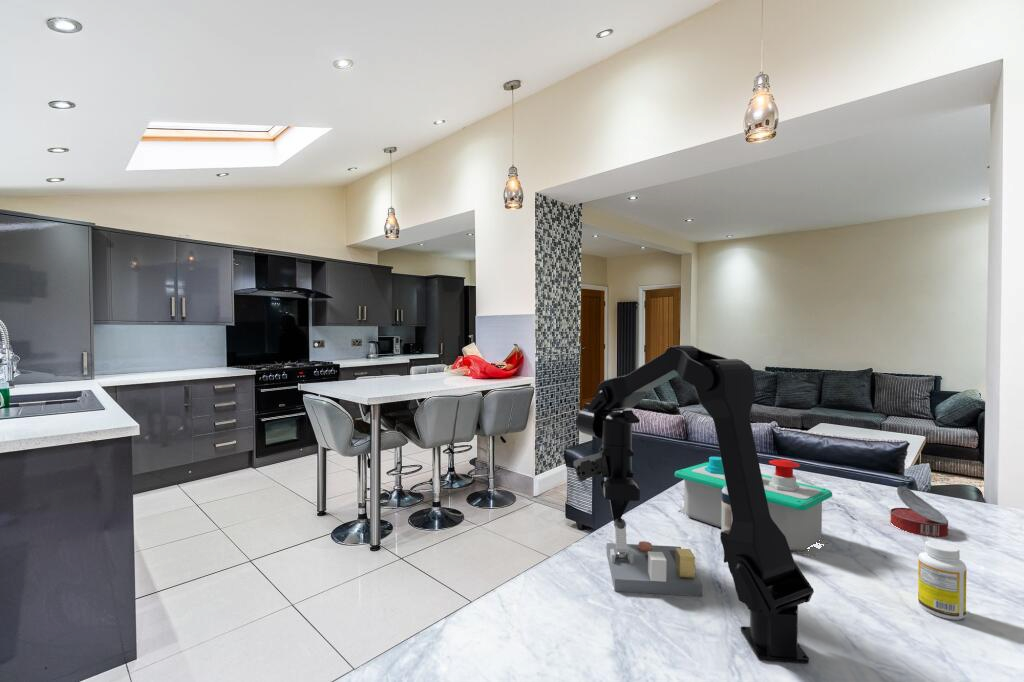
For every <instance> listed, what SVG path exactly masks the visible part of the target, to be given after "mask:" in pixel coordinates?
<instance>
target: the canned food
mask: <svg viewBox="0 0 1024 682" xmlns="http://www.w3.org/2000/svg"><path fill="white" fill-rule="evenodd" d="M896 492H897V495H898V497H899V499H900V500H901V502H902V503H903V504H904V505H905V506H906V507H894V508H891V509H890V524H891V523H892V524H893V525H894V526H896V527H898V528H900V529H902V530H904V531H903V532H905V531H907V532H906V533H909V534H912V533H913V534H914V535H916V536H921V537H927V536H928V537H929V538H945V537H947V536H949V519H947V517H946V515H944V514H942V513H941V512H940V510H938V509H937V508H935V507H933V505H931V504H929V503H928V502H927V501H925V500H924V499H923V498H921V497H920V496H919V495H917V494H915V493H914V491H912V490H911V489H910V488H908V487H907V486H902V485H899V486H898V487H897V488H896ZM894 526H893V527H894ZM896 527H895V528H896ZM898 528H897V529H898ZM900 529H899V530H900ZM902 530H901V531H902Z"/></svg>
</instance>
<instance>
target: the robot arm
mask: <svg viewBox="0 0 1024 682" xmlns="http://www.w3.org/2000/svg"><path fill="white" fill-rule="evenodd" d="M677 376H679V377H680V378H681V380H683V381H684V382H686V383H688V384H690V385H691V386H693V387H694V388H695V391H696V394H697V397H698V401H699V403H700V405H701V406H702V407H703V409H705V411H706V412H707V414H709V416H710V417H711V418H712V420H713V424H714V429H715V434H716V438H717V443H718V448H719V454H720V457H721V460H722V465H723V471H724V476H725V481H726V486H727V491H728V496H729V501H730V506H731V512H732V518H733V520H732V524H731V527H730V530H727V531H723V532H720V538H719V539H720V543H721V542H722V543H721V545H722V549H723V562H724V563H727V566H728V569H729V572H730V574H731V576H732V579H733V584H734V587H735V592H736V594H737V598H738V601H739V602H741V603H742V604H745V605H746V607H747V609H748V610H749V613H750V614H749V626H741V627H740V632H741V635H742V636H743V637H744V638H745V640H746V642H747V644H748V645H749V647H750V648H751V650H752V652H753V653H754V655H755V657H756V658H757V659H759V660H762V661H763V660H765V661H777V662H779V661H780V662H791V663H792V662H793V663H806V664H808V663H809V662H810V657H809V656H808V655H807V653H806V651H805V650H803V648H802V646H801V645H800V644H799V643H798V635H799V634H798V633H799V632H798V629H799V628H798V627H799V625H798V624H799V623H798V622H799V607H798V606H799V605H802V604H804V603H809V602H810V601H811V598H812V596H813V594H814V591H815V590H814V588H813V587H812V586H811V585H812V584H810V583H809V581H808V579H807V578H806V577H805V575H804V573H803V572H802V571H801V569H800V568H799V566H798V564H797V563H796V562H795V559H794V556H793V554H792V550H790V548H789V545H788V542H787V540H786V537H785V535H784V534H783V533H782V531H781V530H780V529H779V528H778V526H777V525H776V524H775V522H774V521H773V520H772V518H771V516H770V513H769V508H768V503H767V499H766V494H765V489H764V484H763V480H762V475H761V474H762V471H761V466H760V462H759V461H760V460H759V456H758V452H757V447H756V443H755V438H754V437H755V436H754V433H753V428H752V424H751V423H752V422H751V420H750V419H751V418H750V413H751V411H752V408H753V405H754V404H753V403H754V401H755V397H756V390H755V388H756V387H755V376H754V371H753V369H752V367H751V366H750V364H748V363H746V362H745V361H743V360H741V359H738V358H729V359H728V358H727V357H724V356H721V355H718V354H713V353H710V352H707V351H704V350H702V349H699V348H697V347H695V346H693V345H672V346H670V347H668V348H667V349H666V350H665V351H664V352H662V353H661V354H660V355H658V356H656V357H654V358H653V359H651V360H649V361H647V362H646V363H645V364H643V365H642V366H639V367H638V368H636V369H635V370H633V371H632V372H630V373H628V374H625V375H622V376H616V377H612V378H608V379H604V380H603V381H601V382H600V383H599V384H598V386H597V387H598V388H597V390H596V392H595V394H594V396H593V398H592V400H591V402H585V403H583V408H582V409H581V410H580V411H579V413H578V414H577V415H576V419H575V425H576V428H577V430H578V431H579V432H580V433H582V434H585V435H588V436H590V437H595V438H597V439H602V441H601V442H602V444H601V445H600V447H599V452H598V453H594V454H590V455H587V456H586V455H585V456H584V457H581V458H578V459H576V460H574V461H573V468H574V470H575V473H576V476H577V478H578V479H577V480H578V481H579V482H583V481H586V480H587V479H589V478H593V477H596V476H601V478H604V479H603V480H600V481H599V483H600V486H601V491H602V493H603V496H604V499H605V500H608V501H609V504H610V510H611V511H610V512H611V515H612V520H613V523H614V522H615V520H616V519H618V518H621V519H622V517H623V515H624V513H625V511H626V508H627V506H628V505H629V503H630V501H631V502H639V501H640V498H641V496H640V495H641V490H640V488H639V486H638V484H637V483H636V482H635V481H634V480H633V479H634V472H633V470H632V468H633V467H632V460H633V459H632V458H633V457H634V450H633V449H632V447H633V446H632V445H633V444H632V442H633V440H632V439H633V437H632V435H633V434H632V433H633V424H640V421H641V420H640V419H639V417H638V416H637V415H636V414H635V413H634V412H633V410H632V408H634V407H635V406H637V405H638V404H639V403H640V402H641V401H642V400H644V399H643V398H644V396H645V394H646V393H648V392H649V391H651V390H653V389H655V388H656V387H659V386H660V385H662V384H664V383H666V382H668V381H670V380H672V379H673V378H675V377H677ZM626 409H627V410H626ZM628 409H629V410H628Z"/></svg>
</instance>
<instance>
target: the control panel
mask: <svg viewBox="0 0 1024 682" xmlns="http://www.w3.org/2000/svg"><path fill="white" fill-rule="evenodd" d="M768 463H769V464H771V465H774V466H775V468H774V469H775V470H774V471H775V472H773V473H772V475H771V476H770V475H767V474H762V473H761V475H762V480H763V484H764V489H765V494H766V499H767V503H768V508H769V513H770V516H771V518H772V520H773V521H774V522H775V524H776V525H777V526H778V528H779V529H780V530H781V531H782V533H783V534H784V535H785V537H786V540H787V542H788V545H789V548H790V551H791V552H796V553H798V552H799V554H801V553H802V555H804V554H806V555H805V556H807V555H809V556H808V557H813V556H814V557H815V556H817V555H818V554H820V553H821V552H823V551H824V550H826V549H827V548H828V546H829V547H830V546H831V545H832V543H830V541H829V542H828V541H825V540H822V535H823V534H822V533H823V532H822V531H823V525H822V524H823V519H822V518H823V502H824V501H826V500H828V499H830V498H832V497H833V491H832V490H830V489H829V488H828V489H827V488H824V487H819V486H814V485H812V484H806V483H802V482H798V481H797V477H796V476H795V475H794V468H799V467H801V464H799V463H797V462H795V461H792V460H790V459H785V458H778V459H777V458H776V459H773V460H769V461H768ZM674 477H675V478H679V479H682V480H684V484H683V485H684V487H683V488H684V489H683V491H684V492H683V495H684V496H683V497H684V498H683V499H684V501H683V506H684V507H683V508H680V509H679V511H680V512H681V513H680V514H682V513H683V514H682V515H685V514H686V515H685V516H688V518H691V519H694V520H697V521H699V522H703V523H706V524H709V525H713V526H715V527H718V528H721V510H722V489H723V488H724V486H725V485H726V481H725V476H724V471H723V465H722V460H721V456H710V457H709V458H708V462H707V461H705V462H703V463H700V464H695V465H693V466H689V467H686V468H682V469H679V470H675V472H674ZM679 511H678V510H677V513H679ZM819 540H820V541H819ZM816 542H817V543H820V544H824V546H823V545H821V546H822V547H821V548H820V549H818V548H816V547H814V546H813V547H810V546H811V545H813V544H816ZM818 545H819V544H818ZM808 547H810V549H807V548H808ZM825 548H826V549H825ZM808 550H809V551H808ZM822 550H823V551H822ZM819 552H820V553H819ZM809 553H811V554H809ZM817 553H818V554H817ZM812 554H813V555H812ZM816 554H817V555H816Z"/></svg>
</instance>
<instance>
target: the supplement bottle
mask: <svg viewBox="0 0 1024 682" xmlns="http://www.w3.org/2000/svg"><path fill="white" fill-rule="evenodd" d="M960 558H961V557H960V549H959V548H958V547H957V546H956V545H953V544H950V543H947V542H944V541H938V540H926V541H925V545H924V551H923V552H920V553H919V555H918V563H917V564H918V574H917V575H918V577H917V578H918V583H917V584H918V585H917V586H918V587H917V589H918V593H917V594H918V597H917V600H918V604H919V606H920V607H921V609H923V610H925V611H926V612H927V613H929V614H932V615H934V616H936V617H940V618H943V619H946V620H947V619H948V620H954V621H955V620H957V621H958V620H962V619H964V618H965V617H966V614H967V565H966V563H964V561H963V560H961V559H960Z"/></svg>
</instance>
